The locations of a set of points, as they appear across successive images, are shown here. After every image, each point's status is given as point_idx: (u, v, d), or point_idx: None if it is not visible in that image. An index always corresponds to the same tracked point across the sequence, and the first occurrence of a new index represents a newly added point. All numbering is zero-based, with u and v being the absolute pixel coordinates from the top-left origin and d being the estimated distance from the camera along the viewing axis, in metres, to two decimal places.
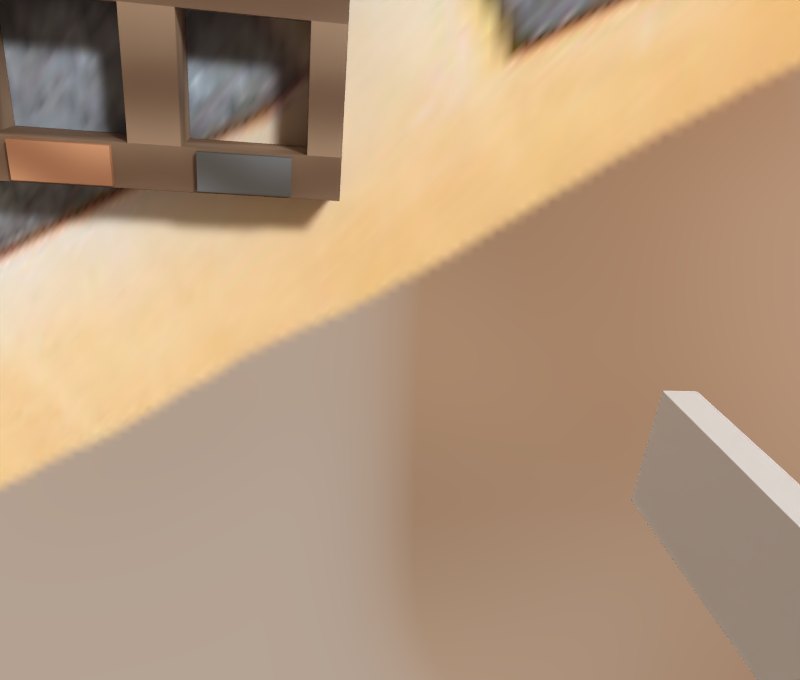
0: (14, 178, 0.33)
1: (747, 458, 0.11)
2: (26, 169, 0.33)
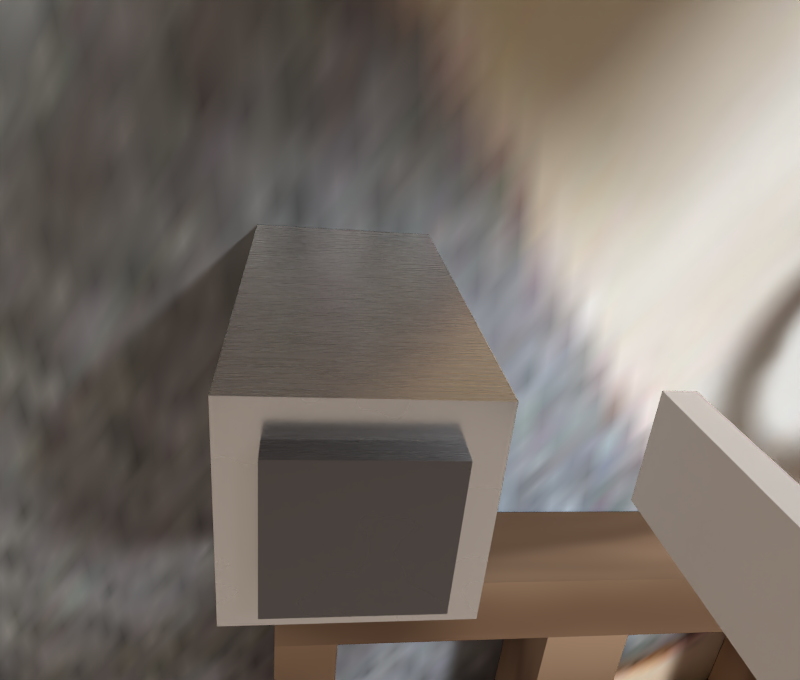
0: None
1: (747, 458, 0.11)
2: None
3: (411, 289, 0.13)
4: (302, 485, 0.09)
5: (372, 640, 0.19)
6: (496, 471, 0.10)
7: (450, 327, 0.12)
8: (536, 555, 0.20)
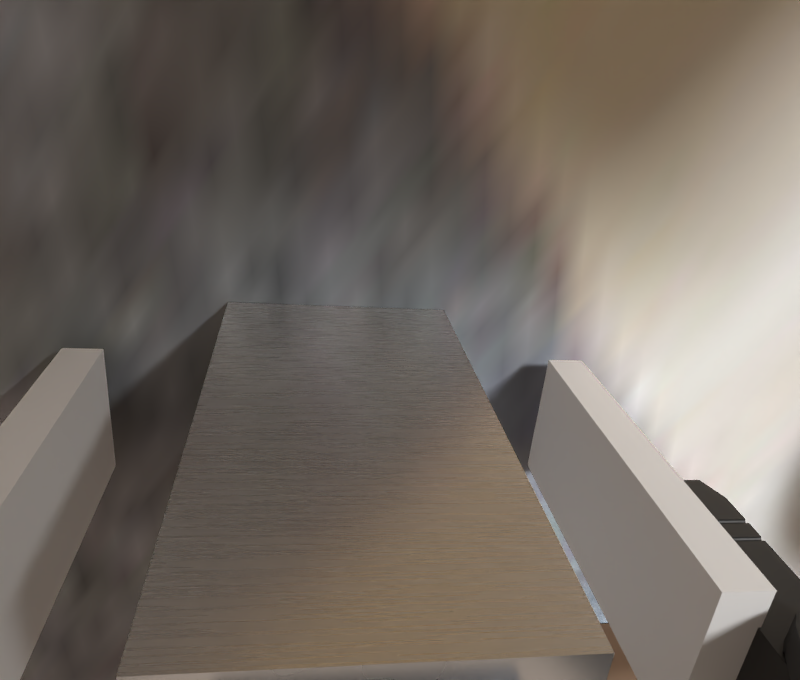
0: None
1: (607, 417, 0.12)
2: None
3: (429, 410, 0.10)
4: None
5: None
6: None
7: (490, 483, 0.08)
8: None
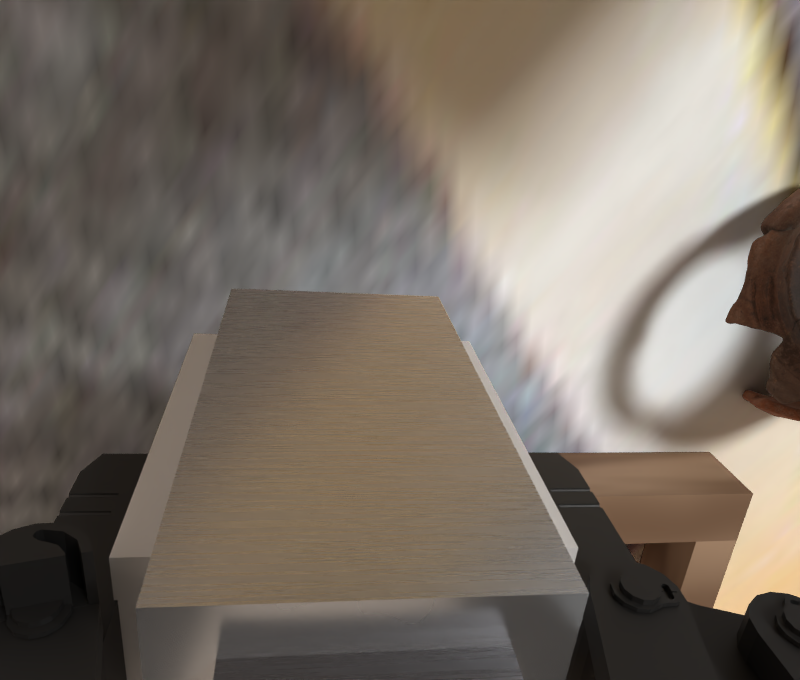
0: None
1: None
2: None
3: (423, 385, 0.10)
4: None
5: None
6: None
7: (478, 450, 0.09)
8: None
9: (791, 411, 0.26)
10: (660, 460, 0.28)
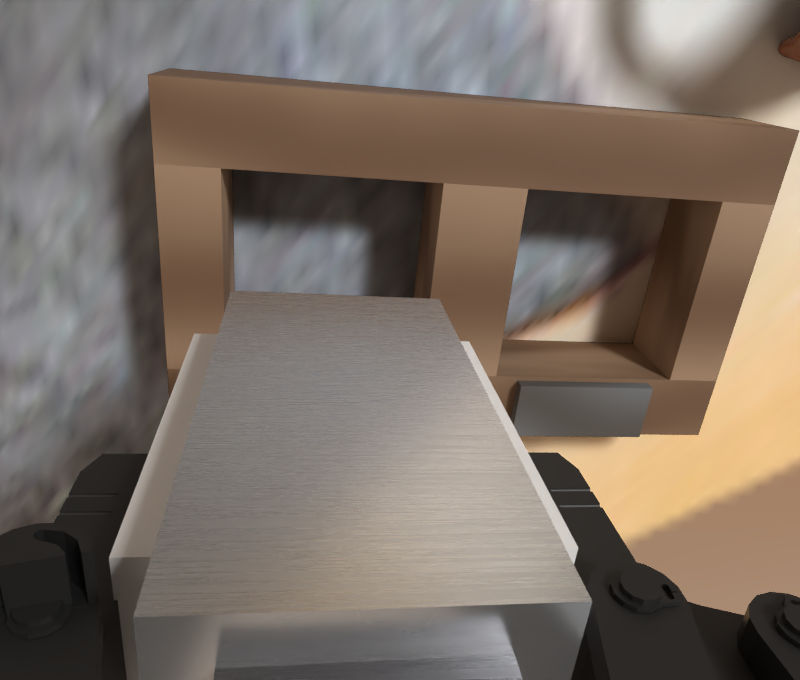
0: None
1: None
2: None
3: (423, 389, 0.10)
4: None
5: (257, 165, 0.19)
6: None
7: (479, 455, 0.09)
8: (430, 96, 0.19)
9: None
10: (679, 114, 0.22)
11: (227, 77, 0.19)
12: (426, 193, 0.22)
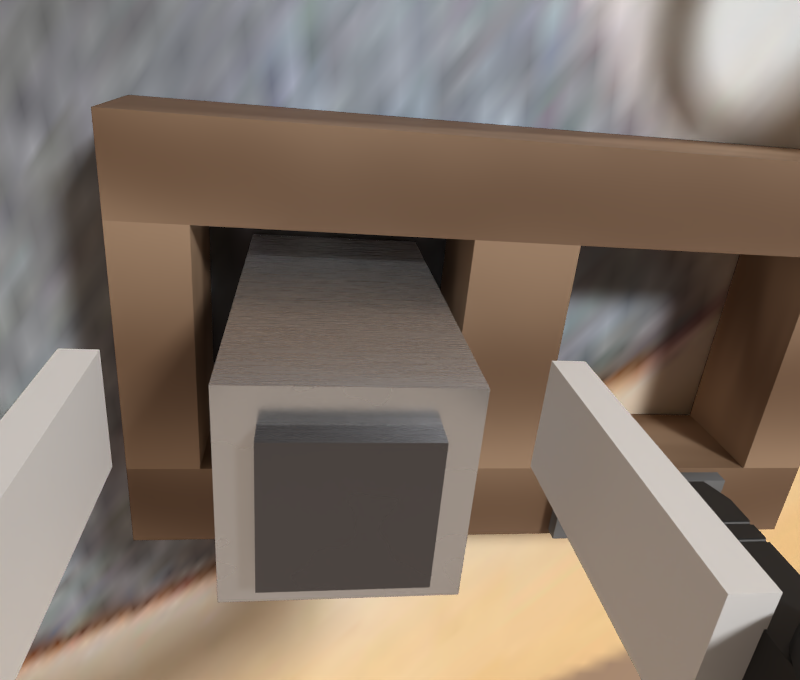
0: None
1: (611, 418, 0.12)
2: None
3: (396, 292, 0.14)
4: (293, 466, 0.10)
5: (237, 221, 0.14)
6: (472, 454, 0.11)
7: (431, 325, 0.13)
8: (458, 130, 0.15)
9: None
10: (759, 148, 0.18)
11: (198, 107, 0.15)
12: (448, 245, 0.18)
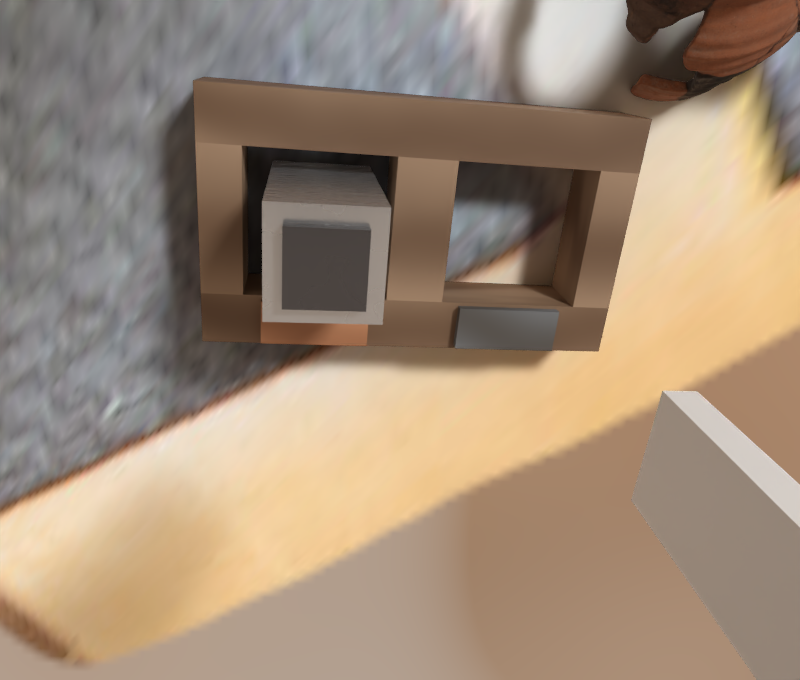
0: (264, 341, 0.30)
1: (747, 458, 0.11)
2: (278, 332, 0.30)
3: (354, 181, 0.27)
4: (300, 239, 0.22)
5: (267, 143, 0.27)
6: (384, 242, 0.23)
7: (369, 191, 0.25)
8: (388, 95, 0.27)
9: (665, 83, 0.28)
10: (572, 109, 0.30)
11: (246, 82, 0.27)
12: (389, 167, 0.30)
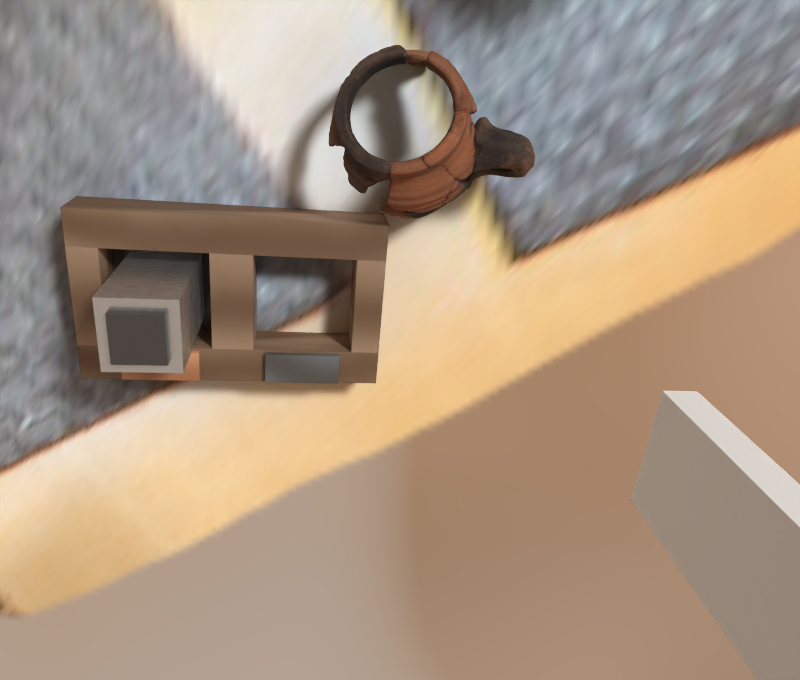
0: (124, 378, 0.42)
1: (747, 458, 0.11)
2: None
3: (174, 272, 0.39)
4: (118, 321, 0.35)
5: (115, 246, 0.39)
6: (177, 321, 0.36)
7: (177, 283, 0.37)
8: (202, 211, 0.40)
9: (396, 210, 0.41)
10: (343, 213, 0.42)
11: (101, 204, 0.39)
12: None
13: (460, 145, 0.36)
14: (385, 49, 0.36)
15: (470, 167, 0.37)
